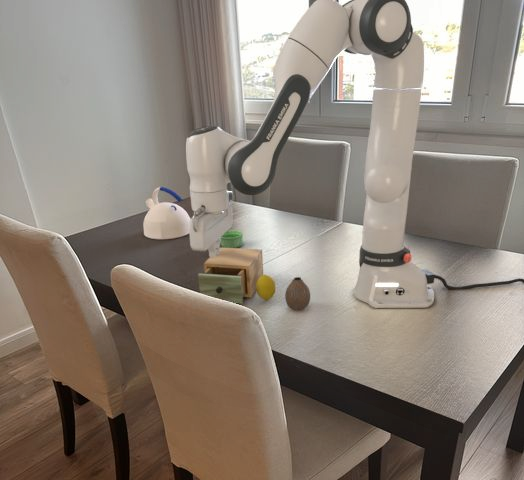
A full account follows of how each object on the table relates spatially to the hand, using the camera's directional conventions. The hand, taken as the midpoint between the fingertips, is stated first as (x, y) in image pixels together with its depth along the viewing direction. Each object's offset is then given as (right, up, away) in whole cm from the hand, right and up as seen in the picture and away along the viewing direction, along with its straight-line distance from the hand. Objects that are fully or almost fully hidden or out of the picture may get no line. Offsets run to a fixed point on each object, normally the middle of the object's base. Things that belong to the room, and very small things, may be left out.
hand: (214, 255), depth 124 cm
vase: (+22, -12, +13) cm, 28 cm away
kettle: (-27, +25, +78) cm, 86 cm away
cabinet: (+4, -4, +27) cm, 28 cm away
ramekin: (+1, +15, +60) cm, 62 cm away
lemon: (+13, -10, +18) cm, 24 cm away
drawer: (+2, -7, +21) cm, 22 cm away
